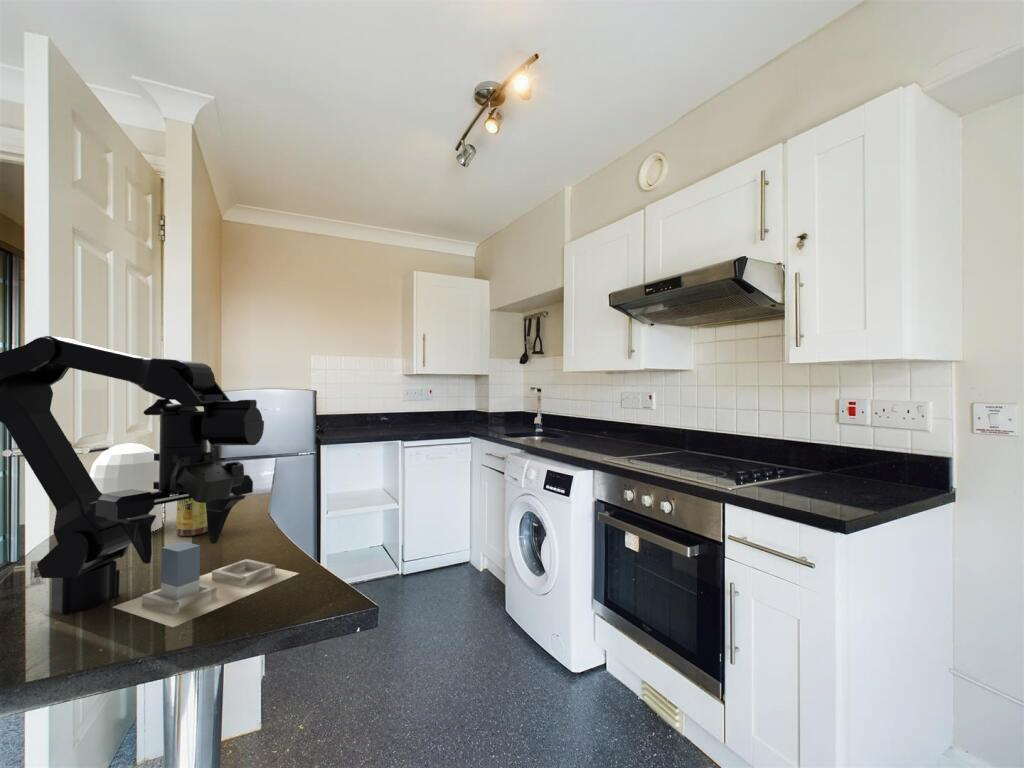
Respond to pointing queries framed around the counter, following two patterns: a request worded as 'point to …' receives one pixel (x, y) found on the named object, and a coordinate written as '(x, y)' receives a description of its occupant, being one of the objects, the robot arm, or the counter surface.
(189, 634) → the counter surface
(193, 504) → the sauce bottle
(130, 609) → the socket dock
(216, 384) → the robot arm
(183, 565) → the plug
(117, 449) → the container
